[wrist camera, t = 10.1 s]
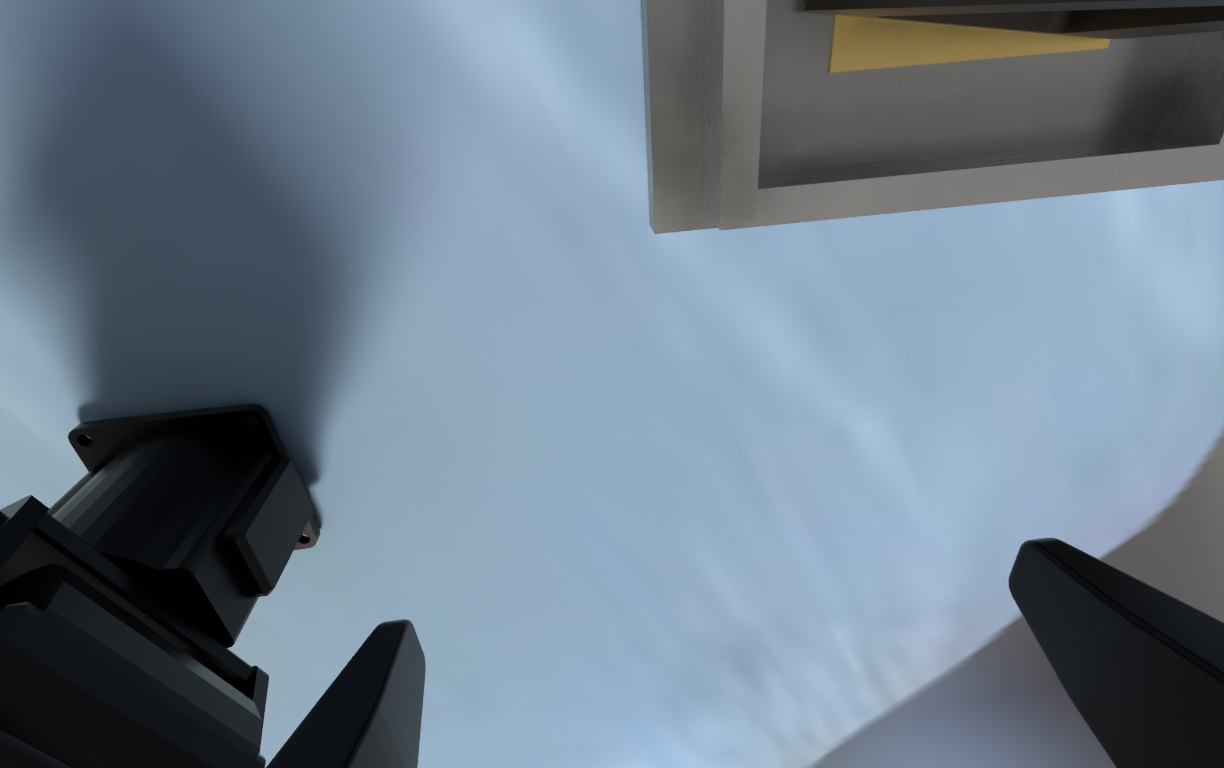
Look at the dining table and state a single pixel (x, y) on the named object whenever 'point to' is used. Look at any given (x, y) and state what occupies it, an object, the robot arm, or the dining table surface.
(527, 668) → the dining table surface
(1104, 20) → the phone stand
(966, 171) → the square tray
